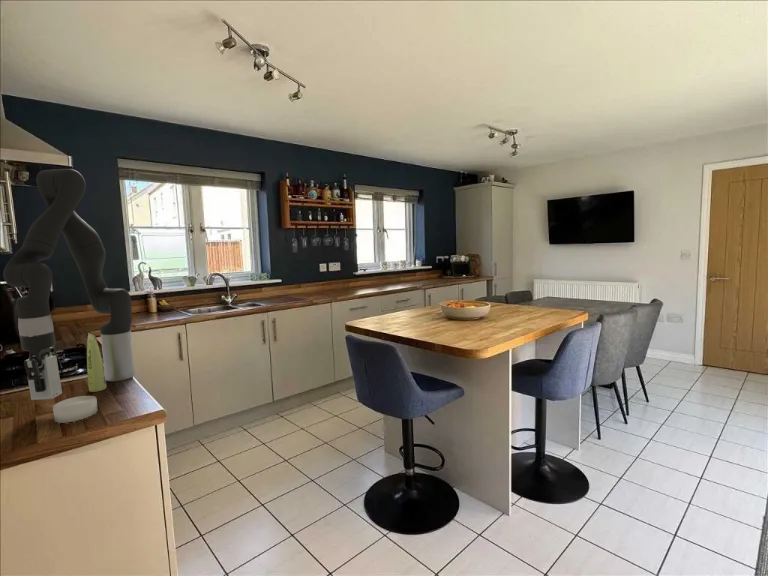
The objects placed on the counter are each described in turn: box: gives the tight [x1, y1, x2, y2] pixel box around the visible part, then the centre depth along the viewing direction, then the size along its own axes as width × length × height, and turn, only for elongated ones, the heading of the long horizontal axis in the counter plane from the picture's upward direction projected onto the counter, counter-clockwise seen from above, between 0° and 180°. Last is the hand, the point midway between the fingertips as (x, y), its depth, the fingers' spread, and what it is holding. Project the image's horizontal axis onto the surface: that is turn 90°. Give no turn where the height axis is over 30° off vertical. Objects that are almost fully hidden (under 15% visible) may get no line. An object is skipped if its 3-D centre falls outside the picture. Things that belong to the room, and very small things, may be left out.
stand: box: [52, 395, 99, 424], centre depth 116 cm, size 10×10×4 cm
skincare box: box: [24, 355, 63, 401], centre depth 117 cm, size 6×4×12 cm
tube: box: [86, 332, 108, 393], centre depth 135 cm, size 6×5×20 cm
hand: (45, 387), depth 117 cm, fingers closed on skincare box, 5 cm apart
